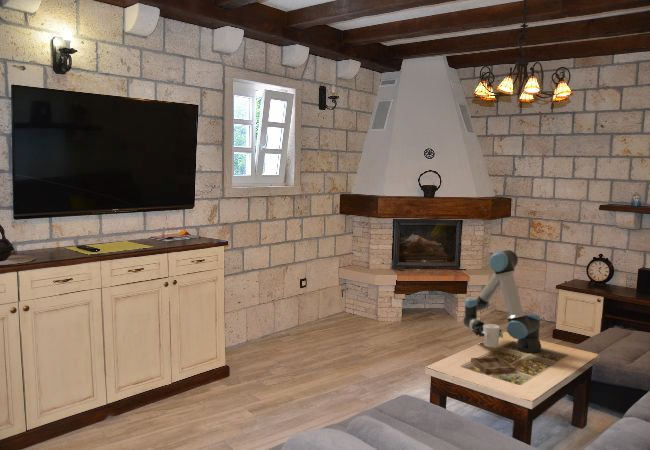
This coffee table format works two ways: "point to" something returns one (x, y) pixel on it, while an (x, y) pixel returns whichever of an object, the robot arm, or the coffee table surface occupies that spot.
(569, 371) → the coffee table surface
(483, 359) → the walnut tray
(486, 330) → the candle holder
